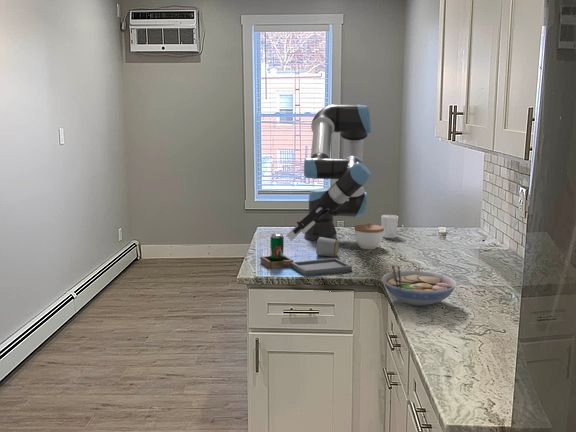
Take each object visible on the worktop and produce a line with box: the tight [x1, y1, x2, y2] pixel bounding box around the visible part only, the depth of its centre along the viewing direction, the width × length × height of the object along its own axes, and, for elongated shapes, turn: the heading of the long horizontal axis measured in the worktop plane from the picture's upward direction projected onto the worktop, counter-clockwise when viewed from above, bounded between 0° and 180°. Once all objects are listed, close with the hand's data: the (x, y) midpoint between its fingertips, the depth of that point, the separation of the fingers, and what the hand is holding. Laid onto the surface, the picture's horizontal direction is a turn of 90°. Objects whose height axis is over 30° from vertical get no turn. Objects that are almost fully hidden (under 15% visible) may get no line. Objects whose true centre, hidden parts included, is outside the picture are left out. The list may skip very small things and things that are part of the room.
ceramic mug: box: [315, 237, 340, 258], centre depth 242 cm, size 11×8×8 cm
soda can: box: [269, 232, 285, 262], centre depth 224 cm, size 5×5×12 cm
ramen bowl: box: [381, 265, 458, 307], centre depth 182 cm, size 25×23×8 cm
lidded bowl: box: [354, 222, 384, 250], centre depth 256 cm, size 13×13×11 cm
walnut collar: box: [260, 254, 294, 270], centre depth 225 cm, size 10×10×2 cm
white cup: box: [380, 214, 399, 239], centre depth 279 cm, size 8×8×10 cm
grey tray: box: [290, 257, 353, 277], centre depth 220 cm, size 19×13×2 cm
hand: (295, 234), depth 220 cm, fingers open, 13 cm apart
